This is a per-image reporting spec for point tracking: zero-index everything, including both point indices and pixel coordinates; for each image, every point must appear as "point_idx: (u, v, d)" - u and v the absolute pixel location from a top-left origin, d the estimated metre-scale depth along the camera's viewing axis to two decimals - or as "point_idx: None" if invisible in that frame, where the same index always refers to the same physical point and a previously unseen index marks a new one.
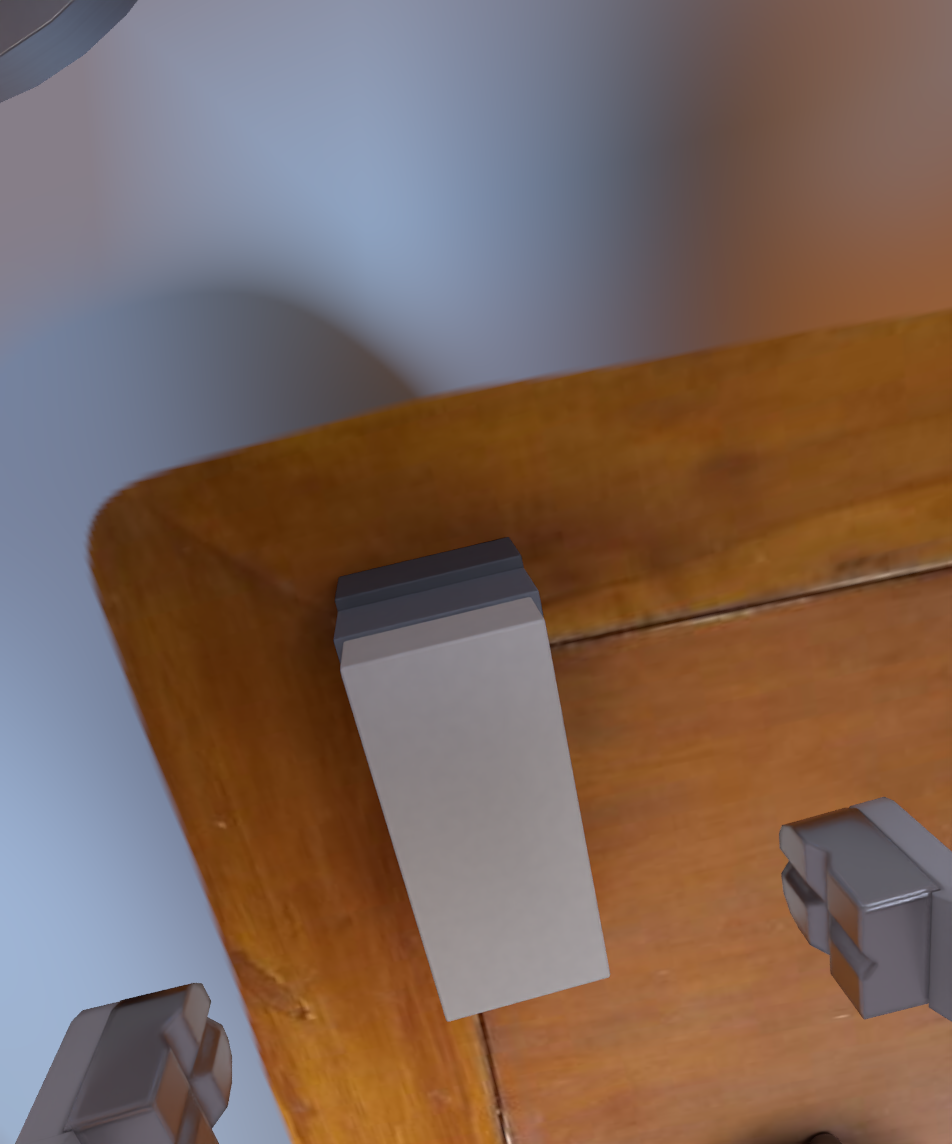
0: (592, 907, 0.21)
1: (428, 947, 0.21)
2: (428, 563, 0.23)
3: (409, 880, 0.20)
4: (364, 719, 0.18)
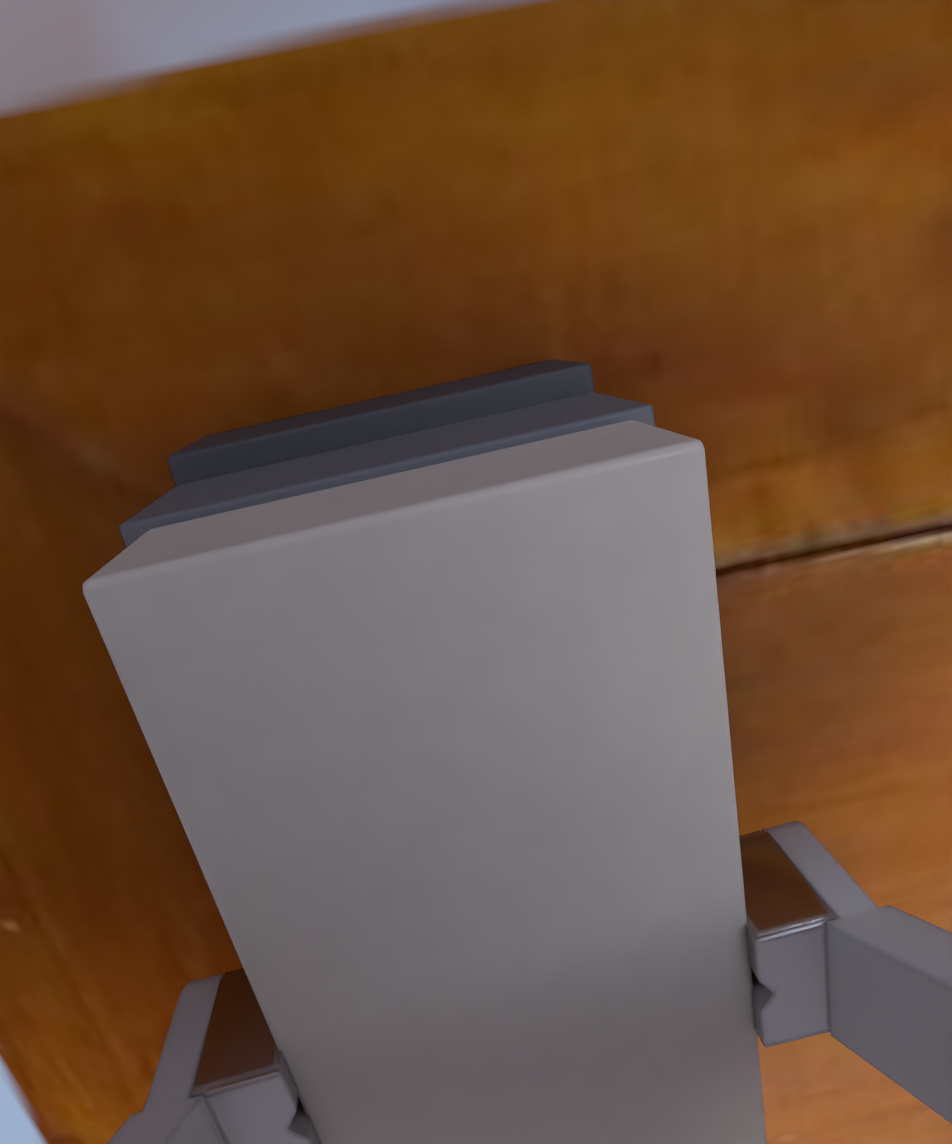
0: None
1: None
2: (387, 399, 0.11)
3: (327, 1136, 0.08)
4: (172, 739, 0.06)
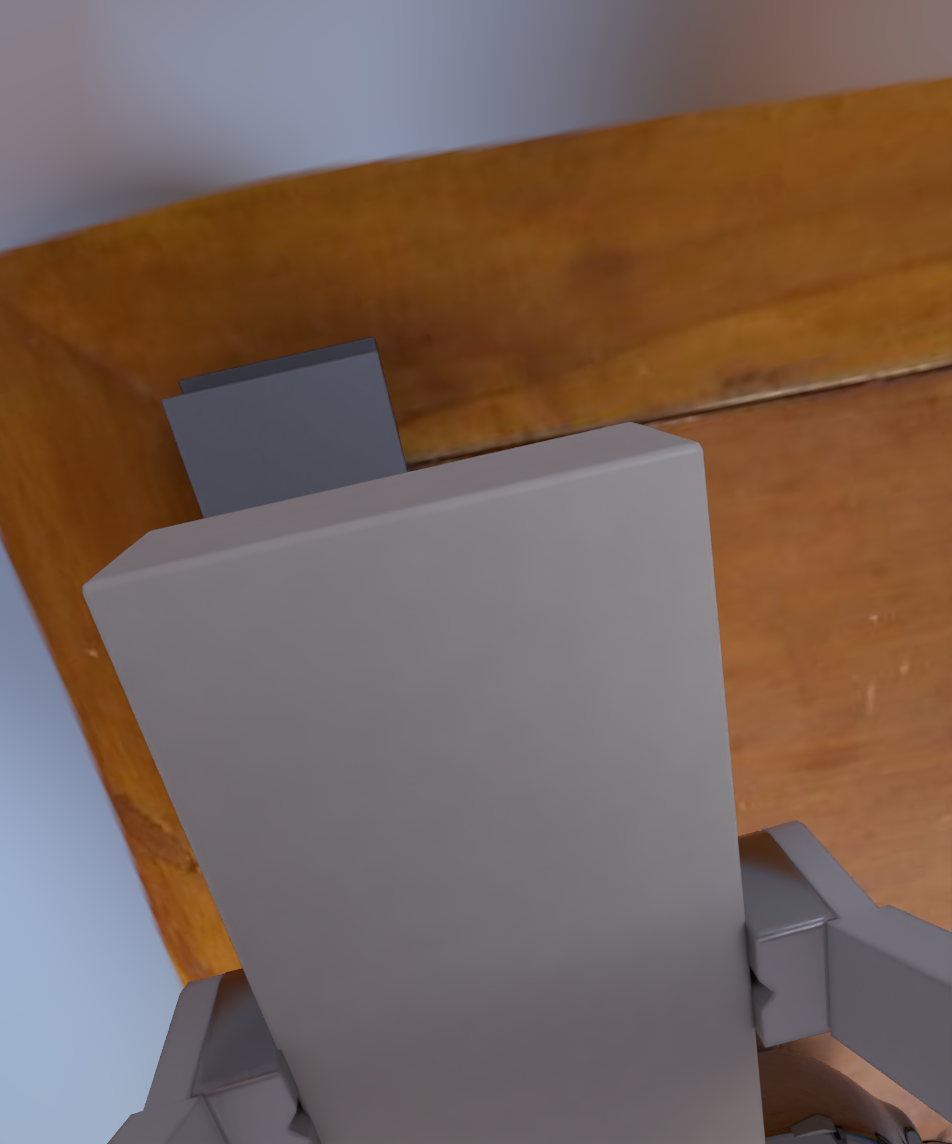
0: None
1: None
2: None
3: (327, 1137, 0.08)
4: (172, 741, 0.06)
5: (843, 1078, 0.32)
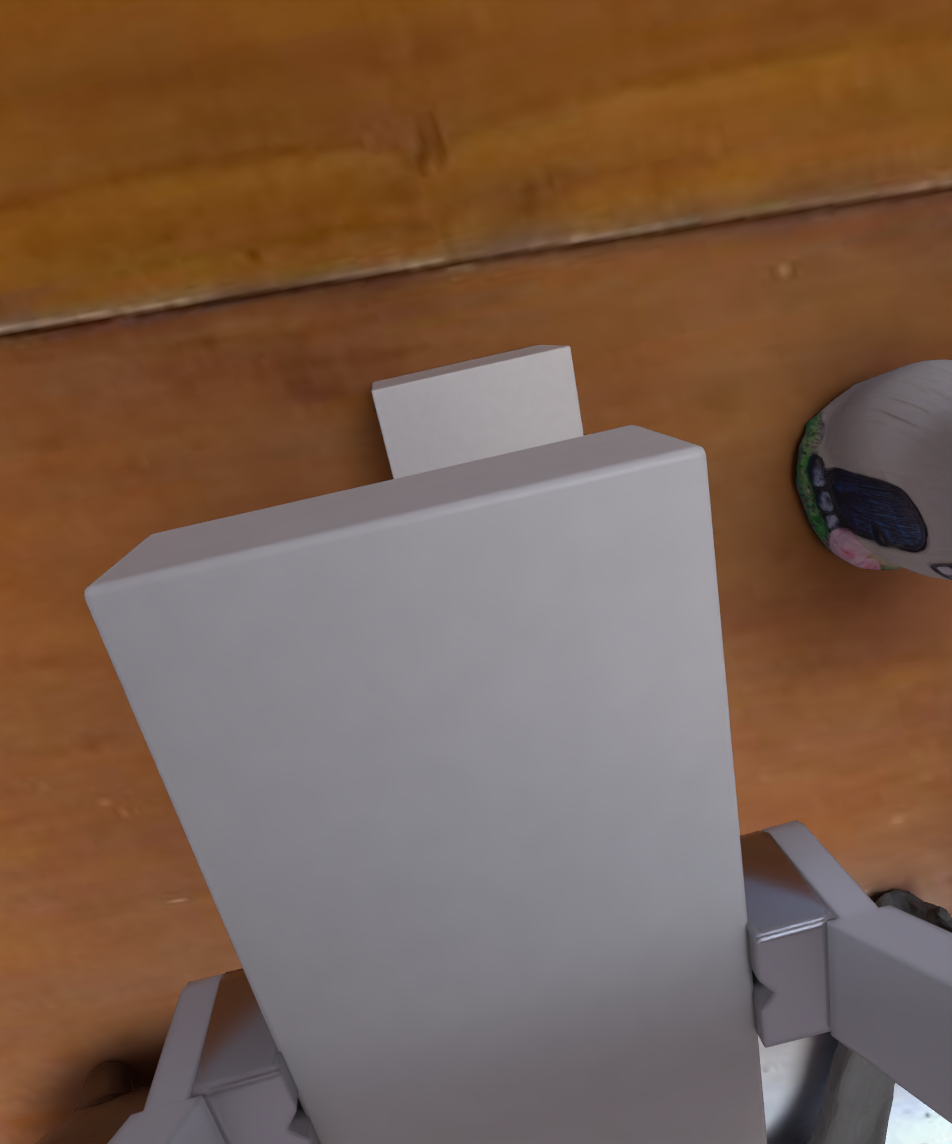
0: None
1: None
2: None
3: (329, 1141, 0.08)
4: (174, 745, 0.06)
5: None
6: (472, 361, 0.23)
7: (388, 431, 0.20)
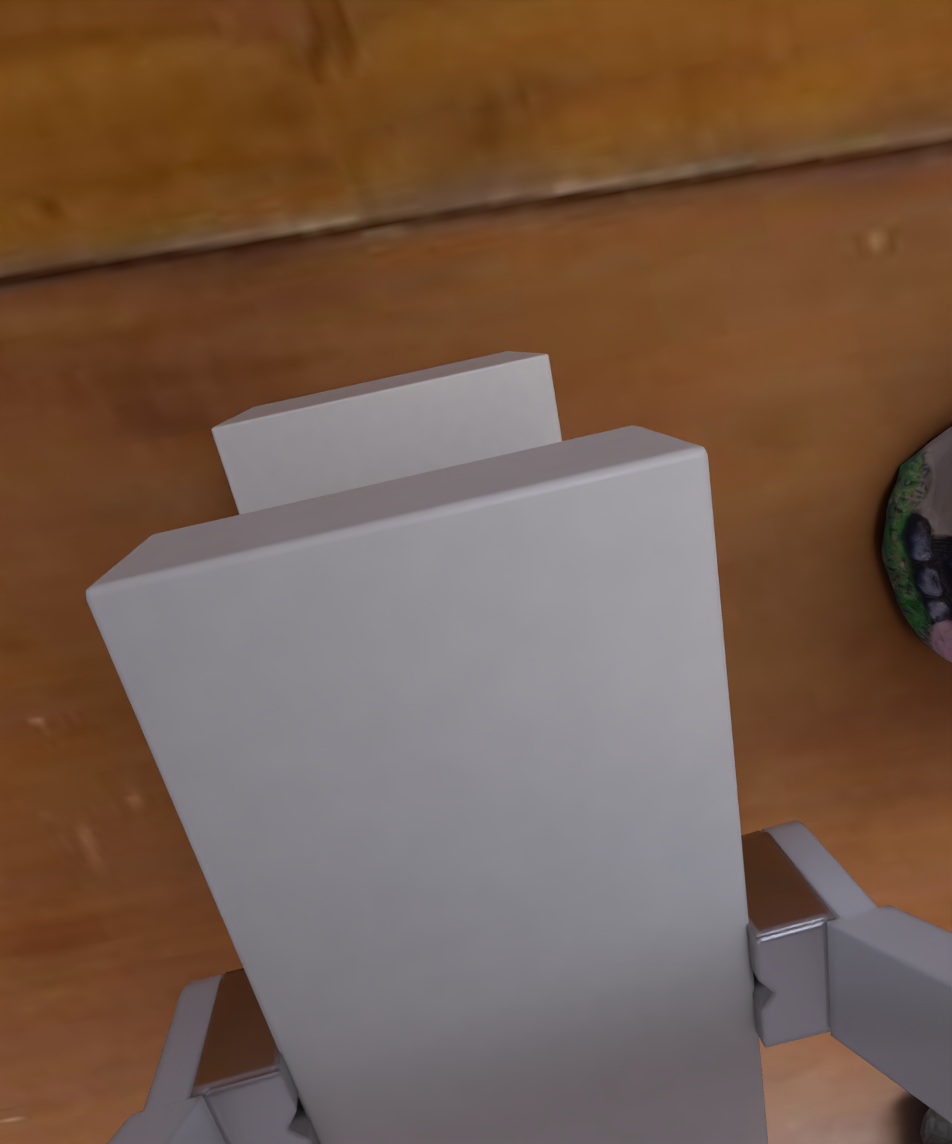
0: None
1: None
2: None
3: (330, 1141, 0.08)
4: (175, 745, 0.06)
5: None
6: (400, 376, 0.15)
7: (244, 495, 0.12)
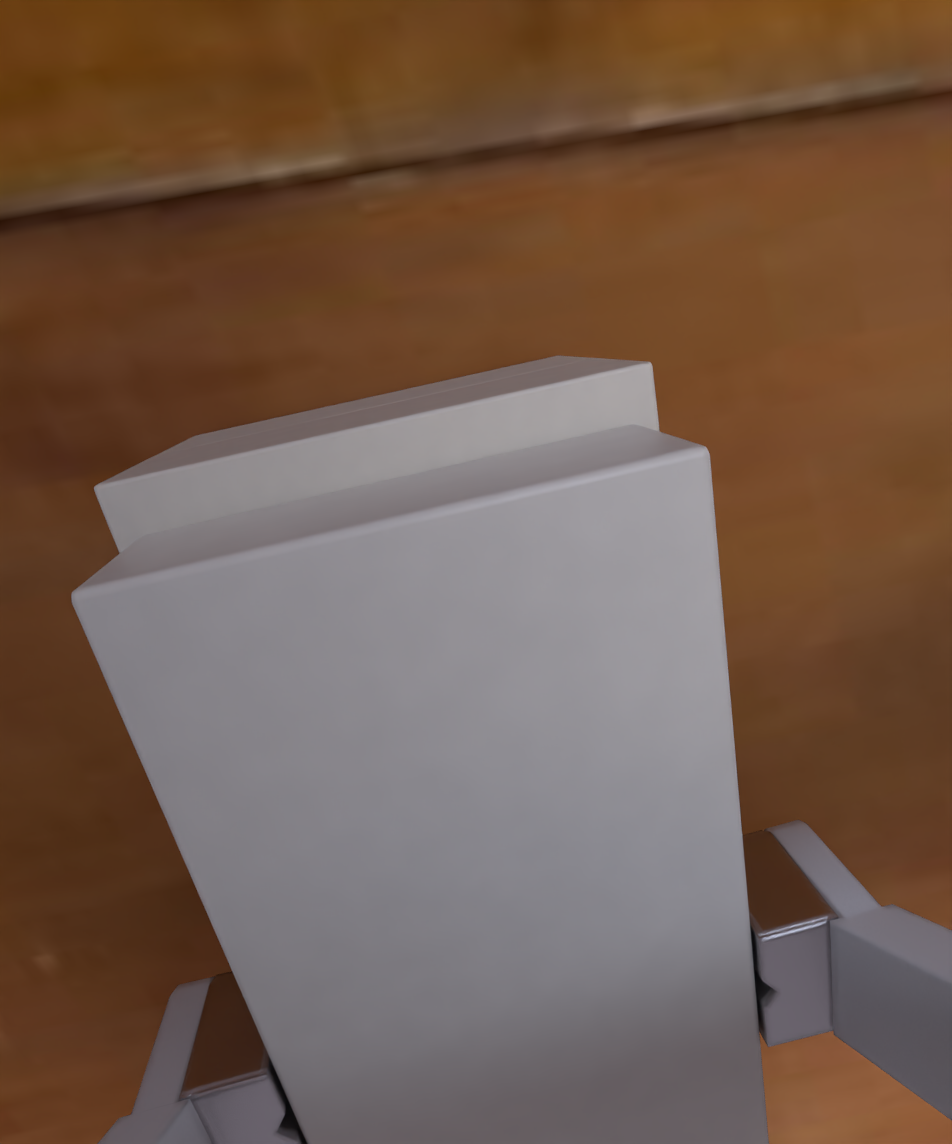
0: None
1: None
2: None
3: None
4: (164, 752, 0.06)
5: None
6: (407, 393, 0.10)
7: None
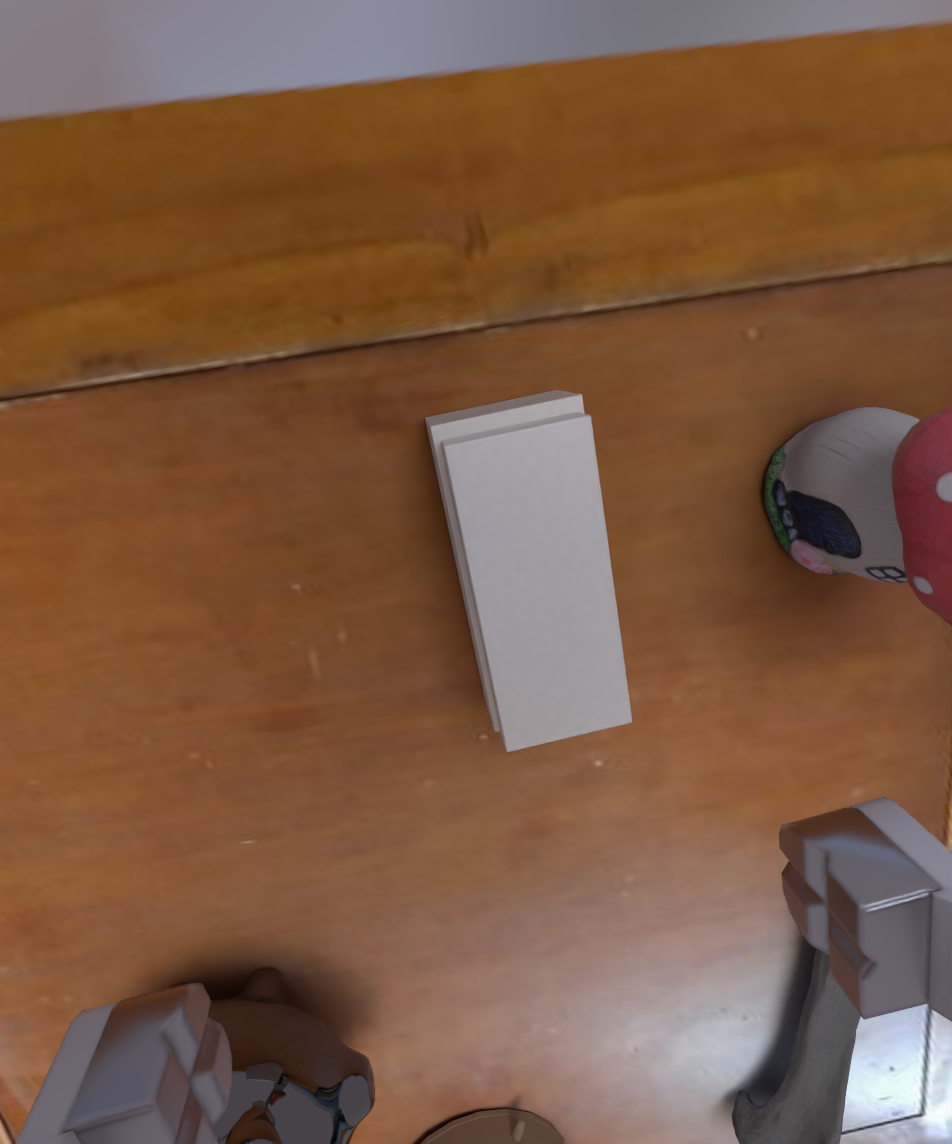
0: (620, 658, 0.28)
1: (496, 684, 0.28)
2: None
3: (484, 624, 0.27)
4: (459, 487, 0.25)
5: (299, 1024, 0.33)
6: (504, 402, 0.29)
7: (441, 457, 0.27)
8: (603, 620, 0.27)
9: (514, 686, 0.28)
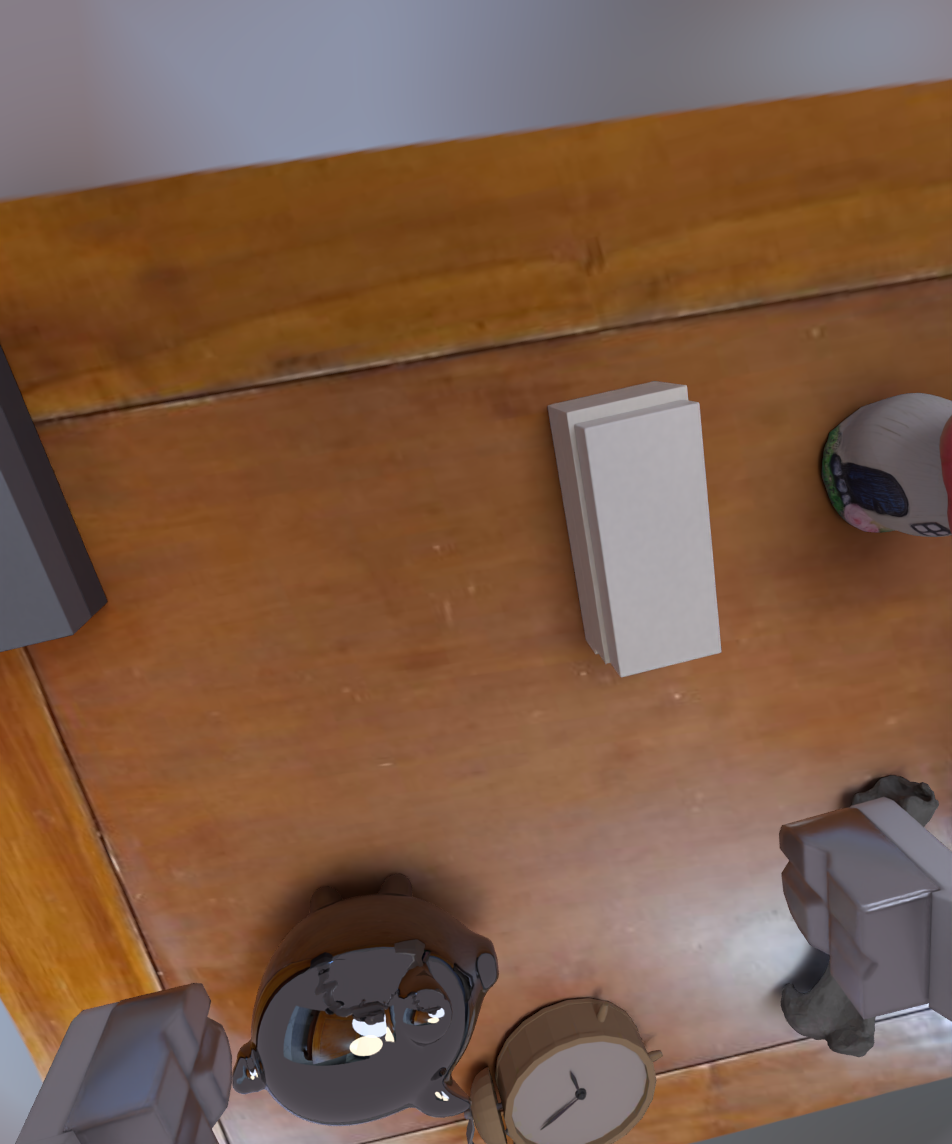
0: (714, 599, 0.35)
1: (615, 621, 0.34)
2: None
3: (608, 572, 0.33)
4: (594, 461, 0.32)
5: (436, 911, 0.40)
6: (615, 392, 0.36)
7: (574, 437, 0.33)
8: (702, 568, 0.34)
9: (629, 622, 0.34)
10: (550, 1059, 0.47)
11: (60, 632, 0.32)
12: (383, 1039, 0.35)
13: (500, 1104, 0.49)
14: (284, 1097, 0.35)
